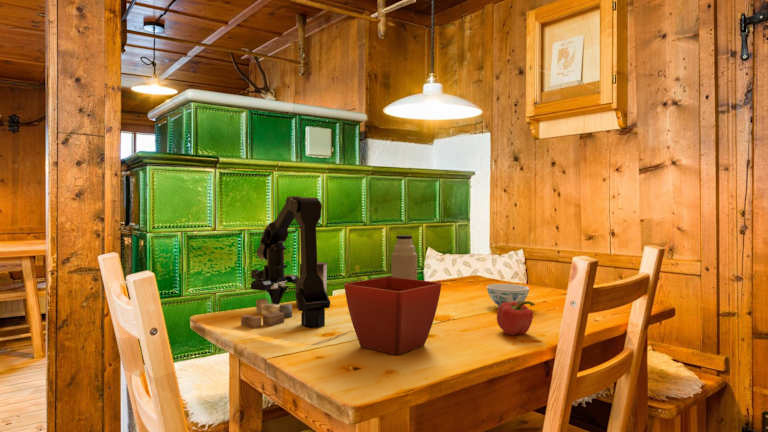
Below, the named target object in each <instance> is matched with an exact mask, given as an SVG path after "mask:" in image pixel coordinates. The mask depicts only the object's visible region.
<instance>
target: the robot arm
mask: <svg viewBox="0 0 768 432" xmlns="http://www.w3.org/2000/svg"><path fill="white" fill-rule="evenodd" d="M322 209H323V205H322V201H321V200H319V198H318V197H311V196H310V197H306V196H305V197H302V196H300V195H299V196H298V195H297V196H296V195H295V196H294V195H290V196H287V197H286V198H285V203H284V206H283V207H282V208H281V210H280V211H279V212H278V215H277V216H276V219H275V220H274V221H272V222H270V223H268V224H267V225H266V227H265V228H264V230H263V233H262V235H261V237H260V240H259V245H258V247H257V249H256V255H257V257H258V259H261V260H264V261H267V262H266V264H264V266H263V269H262V270H259V269H258V268H257V269H255V268H254V269H252V270H251V273H250V275H251V276H250V277H251V279H252V281H251V283H250V290H254V291H262V292H264V291H266V292H267V293H268V295H269V298H270V301H271V304H278V305H280V303H281V301H282V298H283V297H284V294H285V293H286V292H287V291H286V290H287V289H288V288H289V286H288V285H286V283H292V284H293V285H295V293H294V296H295V303H296V306H297V307H296V308H297V309H298V312H301V318H300V320H301V322H300V323H301V324H300V325H301V326H303V327H304V328H307V329H319V328H323V327H326V320H325V319H326V317H325V316H326V314H325V313H326V312H325V311H326V309H330V306H331V301H330V298H329V296H328V293H327V290H326V291H325V289H324V283H323V280H322V279H321V277H320V276H319V274H318V266H317V262H318V245H317V243H318V242H317V226H318V223H319V221H320V219H321V217H322ZM294 220H295V221H296V223H297V224H298V226H299V234H300V236H299V237H300V240H299V241H300V264H301V270H302V274H301V276H300V275H299V276H298V275H297V274H285V269H287V268H288V267H287V266H288V264H285V250H286V249H287V248H286V246H285V245H284V243H285V242H286V240H287V239H288V236H289V235H290V234H289V230H288V229H289V228H290V226H291V224H292V223H293V221H294ZM312 302H316V303H312ZM307 303H309V304H307Z"/></svg>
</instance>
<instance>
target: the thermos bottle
mask: <svg viewBox="0 0 768 432" xmlns="http://www.w3.org/2000/svg"><path fill="white" fill-rule="evenodd" d="M412 238H413V236H412V235H409V234H408V235H404V234H402V235H396V244H394V246H393V252H392V253H391V277H396V278H405V279H414V280H418V254H417V252H416V246H415V245H413V239H412Z"/></svg>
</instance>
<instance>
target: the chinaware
mask: <svg viewBox="0 0 768 432" xmlns="http://www.w3.org/2000/svg"><path fill="white" fill-rule="evenodd" d="M486 289H487V290H486V291H487V293H488V296H489V297H490V300H491V301H493V303H494V304H496V305H497V306H498V307H497V308H498V309H499V306H500V305H501V304H502V303H506V302H509V303H511V302H517V303H518V304H519V303H521V302H524V301H526V299H527V297H528V295H529V292H530V287H528V286H525V285H521V284H516V283H514V284H513V283H494V284H493V283H492V284H489V285H487V286H486Z"/></svg>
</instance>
